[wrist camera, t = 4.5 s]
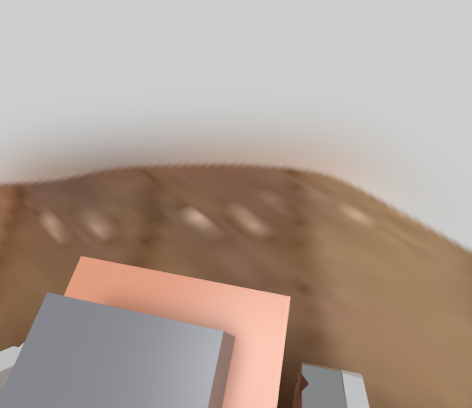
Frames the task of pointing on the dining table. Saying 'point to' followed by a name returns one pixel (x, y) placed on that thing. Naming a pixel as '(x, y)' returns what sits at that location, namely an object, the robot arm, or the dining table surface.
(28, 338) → the connector
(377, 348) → the dining table surface
